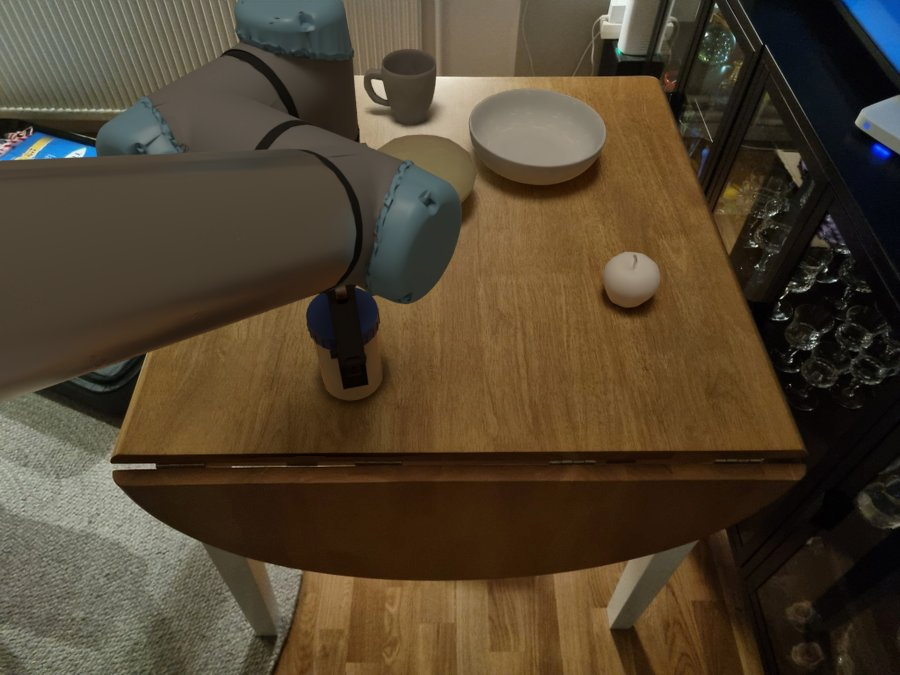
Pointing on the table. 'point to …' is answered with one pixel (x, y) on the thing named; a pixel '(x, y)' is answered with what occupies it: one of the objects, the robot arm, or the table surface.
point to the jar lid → (322, 321)
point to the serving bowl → (536, 135)
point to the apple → (631, 279)
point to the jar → (333, 375)
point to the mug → (405, 84)
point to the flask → (436, 159)
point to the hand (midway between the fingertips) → (348, 348)
